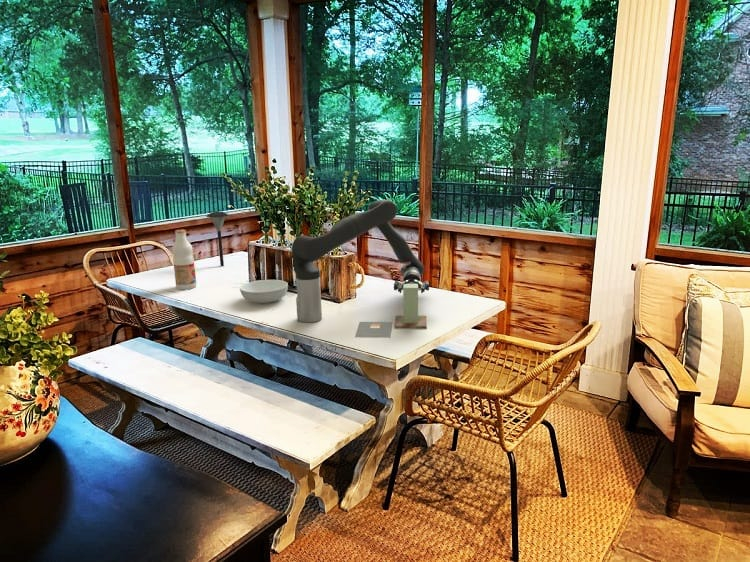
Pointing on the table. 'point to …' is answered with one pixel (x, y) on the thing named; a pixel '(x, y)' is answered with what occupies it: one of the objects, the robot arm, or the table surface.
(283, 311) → the table surface
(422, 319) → the walnut pad
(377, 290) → the table surface
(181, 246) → the fruit juice
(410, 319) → the sage block
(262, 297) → the serving bowl
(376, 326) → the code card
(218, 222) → the solar garden light
